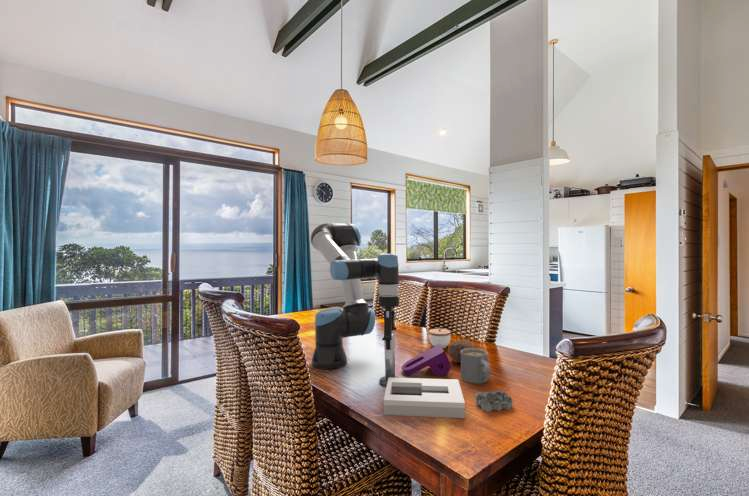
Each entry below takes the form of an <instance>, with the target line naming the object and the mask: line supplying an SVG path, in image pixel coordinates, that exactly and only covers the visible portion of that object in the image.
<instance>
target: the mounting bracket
mask: <svg viewBox="0 0 749 496" xmlns="http://www.w3.org/2000/svg"><path fill="white" fill-rule="evenodd" d="M427 367H429V369H430V370H431V372H432V374H433V375H435V376H437V377H444V376H443V375H445V376H446V375H448V374H449V373H450V371H451V362H450V359H449V358H448V356H447V353H446V352H445V350H444V348H441V347H440V346H439V345H437V346H435V347H434V346H433V347H431V348H430V349H427V350H425V351H424V352H422V353H420V354H418V355H416V356H415V357H412V358H410V359H409V360H407V361H405V362H404V363H403V364H402V366H401V370H402V372H403V374H404V375H406V376H410V375H414V374H415V373H418V372H419V371H421V370H423V369H425V368H427Z"/></svg>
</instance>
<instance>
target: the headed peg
mask: <svg viewBox="0 0 749 496" xmlns="http://www.w3.org/2000/svg"><path fill="white" fill-rule="evenodd" d="M395 348H396V342H395V343H394V334H393V333H392V354H393V358H392V359H385V358H384V361H385V362H384V367H385V368H384V371H385V372H384V374H385V375H384V376H382V377H380V378H379V384H380V385H381V386H383V387H387V382H388V378H400V377H399V376H396V359H395V358H396V356H395V355H396V354H395V353H396V350H395Z"/></svg>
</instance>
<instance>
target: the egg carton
mask: <svg viewBox="0 0 749 496" xmlns="http://www.w3.org/2000/svg"><path fill="white" fill-rule="evenodd" d="M473 396H474V397H475V405H476V406H477V407H480V409H481V411H483V412H487V413H490V412H492V410H494V411H497V412H501V410H502V409H506V410H508V411H509V410H512V409H511V408H513V402H515V400H514V399H512V397H511V396H510V395H509V394H508V393H507V392H505V390H504V389H500V390H497V391H495V390H493V391H492V390H490V391H488V392H487V391H486V392H485V391H484V392H480V391H478V392H476V393H475V394H474V395H473Z"/></svg>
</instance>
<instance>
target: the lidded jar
mask: <svg viewBox="0 0 749 496" xmlns="http://www.w3.org/2000/svg"><path fill="white" fill-rule="evenodd" d="M451 335H452V331H451V330H450V329H446V328H441V327H438V328H432V329H429V330H428V336H429V337H428V338H429V342H430V344H431V345H432V346H433V347H435V346H437V345H439V346H440V347H441V348H442V349H446V348H447V346H449V344H450V342H451Z"/></svg>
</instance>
